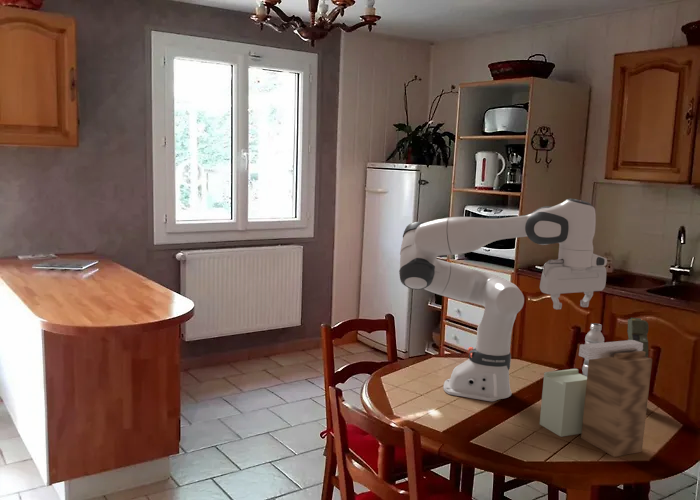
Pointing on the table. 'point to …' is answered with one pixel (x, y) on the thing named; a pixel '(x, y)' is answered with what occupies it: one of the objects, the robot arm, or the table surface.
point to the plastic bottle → (591, 338)
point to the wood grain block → (617, 402)
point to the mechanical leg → (638, 332)
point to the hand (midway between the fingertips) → (570, 307)
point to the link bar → (608, 349)
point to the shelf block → (563, 402)
